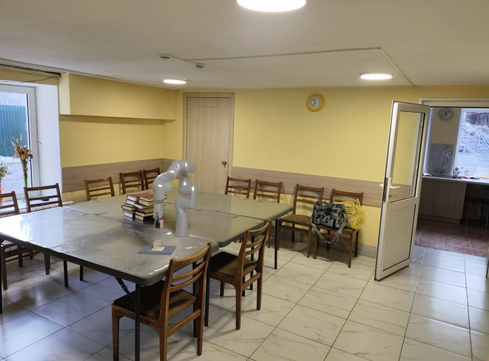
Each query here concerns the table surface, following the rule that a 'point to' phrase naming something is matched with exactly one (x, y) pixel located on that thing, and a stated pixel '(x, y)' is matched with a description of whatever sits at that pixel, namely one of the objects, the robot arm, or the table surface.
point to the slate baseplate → (164, 251)
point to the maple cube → (157, 245)
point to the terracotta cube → (160, 224)
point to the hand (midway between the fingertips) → (158, 226)
